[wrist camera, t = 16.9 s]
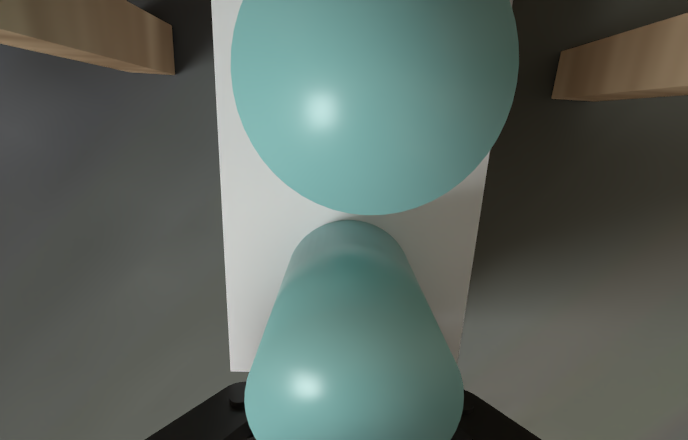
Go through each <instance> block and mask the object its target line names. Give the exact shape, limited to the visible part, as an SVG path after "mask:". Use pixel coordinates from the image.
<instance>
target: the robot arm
mask: <svg viewBox="0 0 688 440" xmlns="http://www.w3.org/2000/svg"><path fill="white" fill-rule="evenodd" d="M245 387H246V382H239V383H235V384H232V385H230V386H228V387H226V388H224V389H223V390H221V391H220V392H218V393H217V394H215V395H214V396H212V397H210V398H209V399H207V400H206V401H204V402H203V403H201V404H200V405H198V406H196V407H195V408H193V409H192V410H190V411H189V412H187V413H186V414H184V415H182V416H181V417H179V418H178V419H176V420H175V421H173V422H172V423H170V424H169V425H167V426H165V427H164V428H162V429H161V430H159V431H158V432H156V433H155V434H153V435H151V436H150V437H148V438H147V439H145V440H256V439H255V437H254V435H253V433H252V431H251V429H250V426H249V424H248V420H247V417H246V412H245V404H244V398H245ZM451 440H541V439H540V438H538V437H537V436H535V435H534V434H532V433H531V432H529V431H528V430H526V429H525V428H523V427H522V426H520V425H519V424H517V423H516V422H514V421H513V420H511V419H510V418H508V417H507V416H505V415H504V414H503V413H501V412H500V411H498V410H497V409H495V408H494V407H492V406H491V405H489V404H488V403H486V402H485V401H483V400H482V399H480V398H479V397H477V396H476V395H474V394H472V393H470V392H468V391H465V390H464V404H463V411H462V415H461V419H460V422H459V424H458V427H457V429H456V431H455V433H454V435H453V436H452V438H451Z"/></svg>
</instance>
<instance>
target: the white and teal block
mask: <svg viewBox="0 0 688 440" xmlns="http://www.w3.org/2000/svg"><path fill="white" fill-rule="evenodd" d="M512 4H513V0H211V8H212V27H213V46H214V65H215V84H216V103H217V122H218V141H219V160H220V179H221V198H222V217H223V236H224V255H225V274H226V293H227V312H228V331H229V350H230V369H231V371H238V372H249V375H248V378H247V382H246V387H245V398H244V404H245V412H246V417H247V420H248V424H249V426H250V429H251V431H252V433H253V435H254V437H255V439H256V440H451V438H452V436H453V435H454V433H455V431H456V429H457V427H458V424H459V422H460V419H461V415H462V411H463V404H464V389H463V382H462V378H461V374H460V371H459V369H458V366H457V362H458V356H459V349H460V343H461V336H462V330H463V323H464V317H465V310H466V304H467V297H468V291H469V284H470V278H471V271H472V265H473V258H474V252H475V245H476V238H477V232H478V225H479V219H480V212H481V206H482V199H483V193H484V186H485V180H486V173H487V167H488V160H489V154H490V149H491V148H492V146H493V145H494V143H495V142H496V140H497V139H498V137H499V135H500V133H501V131H502V129H503V126H504V124H505V122H506V120H507V117H508V114H509V112H510V109H511V106H512V103H513V99H514V94H515V90H516V85H517V78H518V69H519V41H518V34H517V27H516V21H515V18H514V14H513V10H512Z"/></svg>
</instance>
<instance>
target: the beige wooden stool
mask: <svg viewBox="0 0 688 440" xmlns="http://www.w3.org/2000/svg"><path fill="white" fill-rule="evenodd" d="M0 44H5V45H9V46H14V47H18V48H23V49H27V50H32V51H36V52H41V53H45V54H50V55H54V56H59V57H63V58H68V59H72V60H77V61H81V62H86V63H90V64H95V65H100V66H104V67H109V68H113V69H118V70H122V71H127V72H134V73H150V74H166V75H175V66H174V51H173V36H172V26H171V25H170V24H168V23H166V22H164V21H162V20H160V19H159V18H157V17H155V16H153V15H151V14H150V13H148V12H146V11H144V10H142V9H140V8H139V7H137V6H135V5H133V4H131V3H130V2H128V1H126V0H0ZM680 95H688V13H685V14H682V15H679V16H675V17H672V18H669V19H666V20H662V21H659V22H656V23H653V24H649V25H646V26H643V27H640V28H636V29H633V30H630V31H627V32H623V33H620V34H617V35H613V36H610V37H607V38H604V39H600V40H597V41H594V42H591V43H587V44H584V45H581V46H578V47H574V48H571V49H568V50H564V51H561V55H560V59H559V64H558V69H557V74H556V79H555V84H554V88H553V93H552V98H551V99H563V100H579V101H607V100H622V99H636V98H651V97H665V96H680Z"/></svg>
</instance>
